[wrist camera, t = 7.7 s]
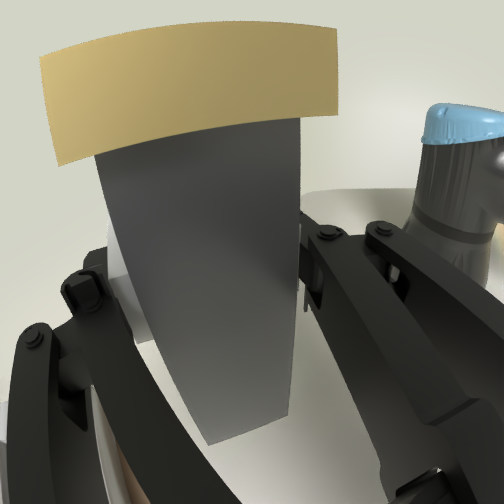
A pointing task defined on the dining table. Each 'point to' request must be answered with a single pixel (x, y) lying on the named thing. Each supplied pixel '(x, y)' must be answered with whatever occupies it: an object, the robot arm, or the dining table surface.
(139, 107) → the plug
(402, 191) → the dining table surface
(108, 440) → the socket
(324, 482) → the dining table surface
